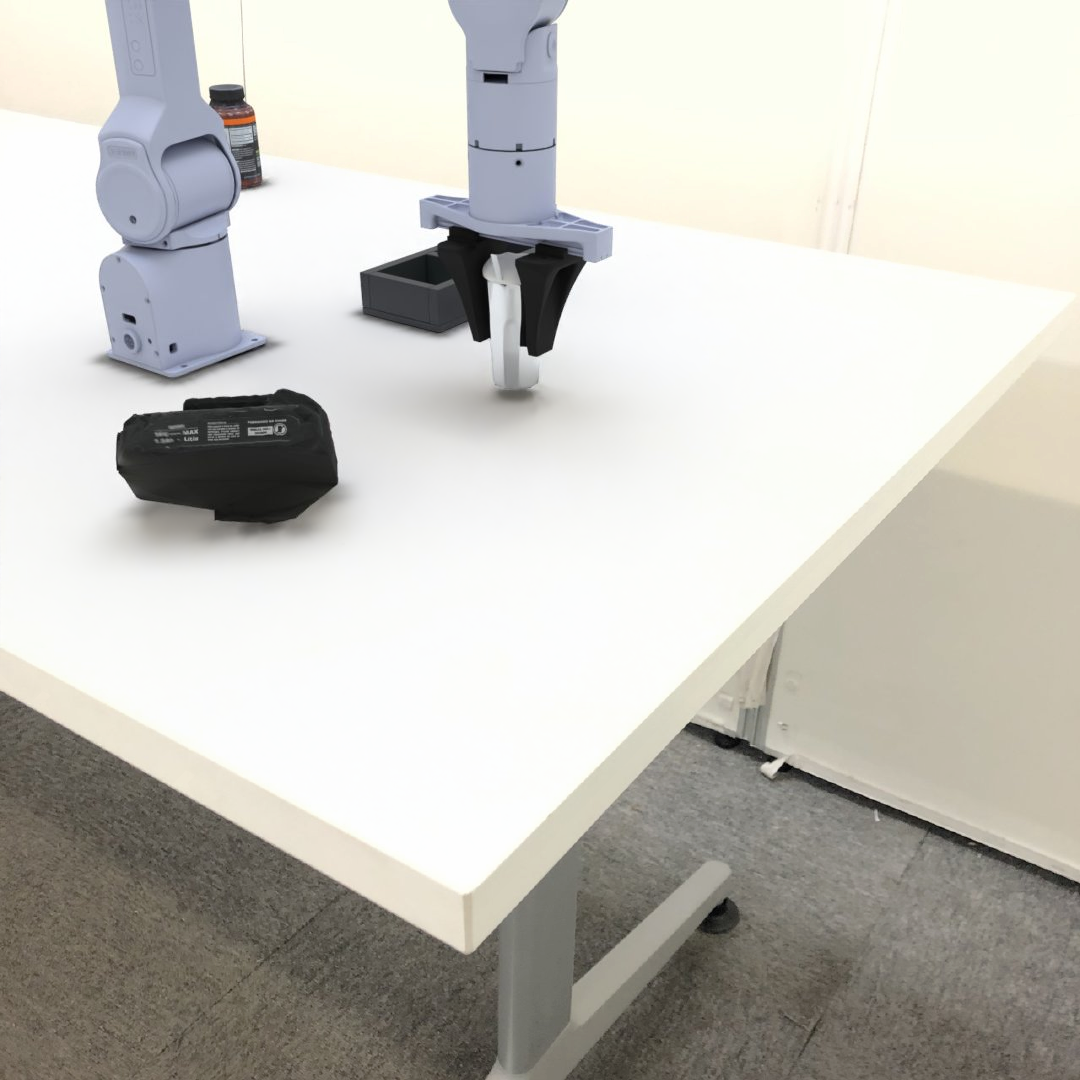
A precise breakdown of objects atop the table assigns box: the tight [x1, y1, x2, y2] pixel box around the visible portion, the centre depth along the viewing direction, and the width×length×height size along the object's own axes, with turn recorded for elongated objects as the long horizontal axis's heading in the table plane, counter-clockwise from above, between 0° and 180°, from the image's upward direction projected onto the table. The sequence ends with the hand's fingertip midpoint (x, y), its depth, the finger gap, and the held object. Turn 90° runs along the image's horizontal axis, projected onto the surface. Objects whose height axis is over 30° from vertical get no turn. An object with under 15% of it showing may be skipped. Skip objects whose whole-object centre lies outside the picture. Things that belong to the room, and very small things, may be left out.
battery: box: [115, 387, 339, 525], centre depth 64 cm, size 12×8×7 cm
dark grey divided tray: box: [359, 242, 535, 333], centre depth 99 cm, size 8×16×4 cm, turn 145°
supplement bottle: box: [208, 83, 263, 189], centre depth 135 cm, size 6×6×11 cm
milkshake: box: [482, 252, 542, 391], centre depth 78 cm, size 4×5×10 cm
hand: (513, 345), depth 79 cm, fingers closed on milkshake, 4 cm apart
